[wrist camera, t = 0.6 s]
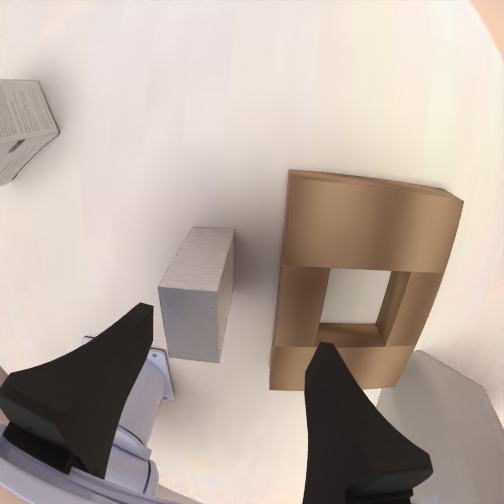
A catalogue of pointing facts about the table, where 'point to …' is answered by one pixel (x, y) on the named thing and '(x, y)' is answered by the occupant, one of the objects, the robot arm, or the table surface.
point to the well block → (358, 257)
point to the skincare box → (22, 125)
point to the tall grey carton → (448, 431)
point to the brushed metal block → (198, 295)
